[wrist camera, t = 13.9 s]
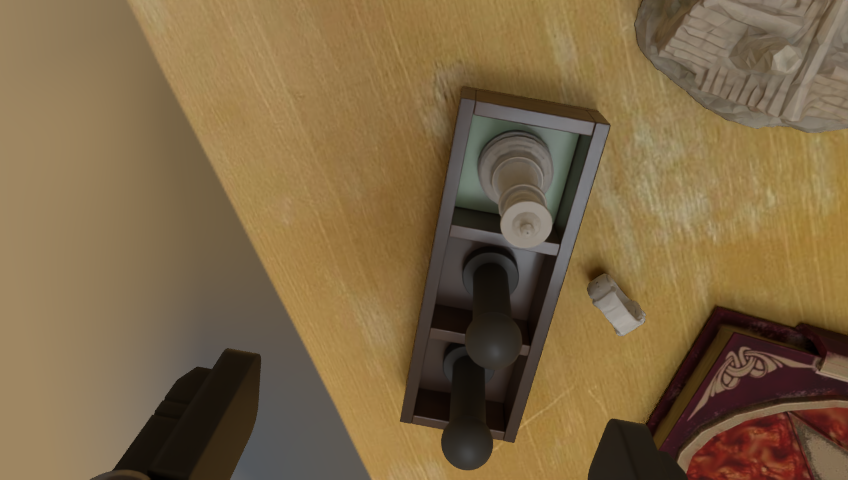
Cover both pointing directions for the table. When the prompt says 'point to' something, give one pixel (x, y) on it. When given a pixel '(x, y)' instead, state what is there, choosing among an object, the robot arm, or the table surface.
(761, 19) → the ceramic cottage
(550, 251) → the rack
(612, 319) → the white ring
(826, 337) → the book
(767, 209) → the table surface
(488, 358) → the pawn
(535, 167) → the chess piece
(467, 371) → the pawn
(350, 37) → the table surface
